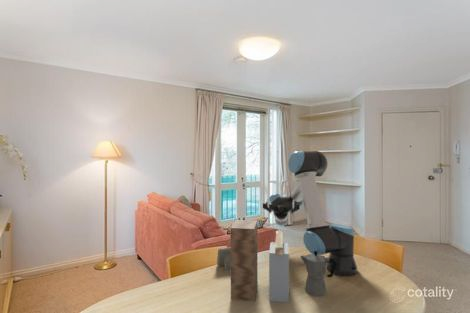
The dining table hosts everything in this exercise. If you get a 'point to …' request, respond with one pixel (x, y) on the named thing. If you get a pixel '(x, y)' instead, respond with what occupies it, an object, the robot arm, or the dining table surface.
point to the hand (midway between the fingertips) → (280, 201)
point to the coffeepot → (317, 273)
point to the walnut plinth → (244, 260)
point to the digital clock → (224, 257)
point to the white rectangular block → (279, 274)
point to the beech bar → (279, 243)
